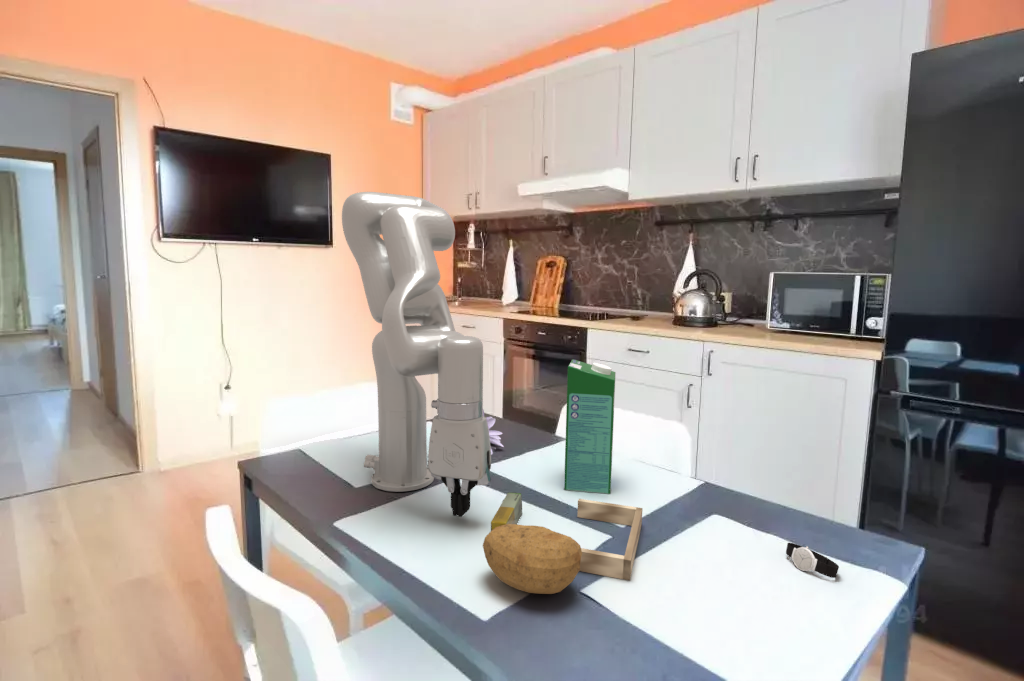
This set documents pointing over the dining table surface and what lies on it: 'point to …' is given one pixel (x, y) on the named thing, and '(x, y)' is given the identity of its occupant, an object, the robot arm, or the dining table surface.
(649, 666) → the dining table surface
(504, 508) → the medication box
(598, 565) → the u-shaped wooden frame
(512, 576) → the potato
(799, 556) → the watch
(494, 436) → the water lily
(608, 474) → the milk carton
